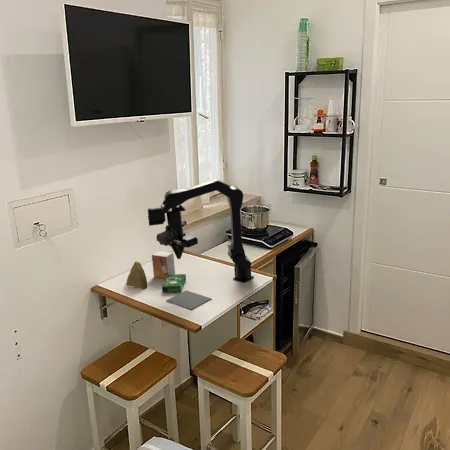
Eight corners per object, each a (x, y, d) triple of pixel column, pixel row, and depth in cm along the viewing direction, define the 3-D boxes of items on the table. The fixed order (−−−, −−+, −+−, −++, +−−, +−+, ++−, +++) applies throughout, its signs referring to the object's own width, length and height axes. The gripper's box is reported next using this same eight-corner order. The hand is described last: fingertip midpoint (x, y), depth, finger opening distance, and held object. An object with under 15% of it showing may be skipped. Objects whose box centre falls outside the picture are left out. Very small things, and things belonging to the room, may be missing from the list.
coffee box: (181, 292, 194) (186, 279, 207) (181, 286, 193) (185, 273, 206) (162, 293, 195) (168, 280, 207) (161, 286, 194) (167, 273, 207)
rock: (154, 282, 200) (150, 271, 209) (140, 270, 196) (136, 259, 205) (135, 299, 201) (131, 287, 209) (120, 288, 196) (118, 276, 205)
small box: (153, 277, 212) (151, 254, 209) (161, 272, 217) (158, 250, 214) (168, 279, 208) (166, 256, 205) (175, 274, 213) (173, 252, 210)
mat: (211, 299, 186) (211, 298, 186) (191, 310, 178) (191, 309, 178) (186, 291, 195) (186, 290, 195) (166, 301, 187) (166, 300, 187)
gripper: (144, 224, 191) (149, 261, 196) (176, 231, 180) (181, 269, 184) (164, 217, 199) (168, 252, 204) (196, 223, 187) (200, 260, 192)
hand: (179, 258), depth 196 cm, fingers closed
